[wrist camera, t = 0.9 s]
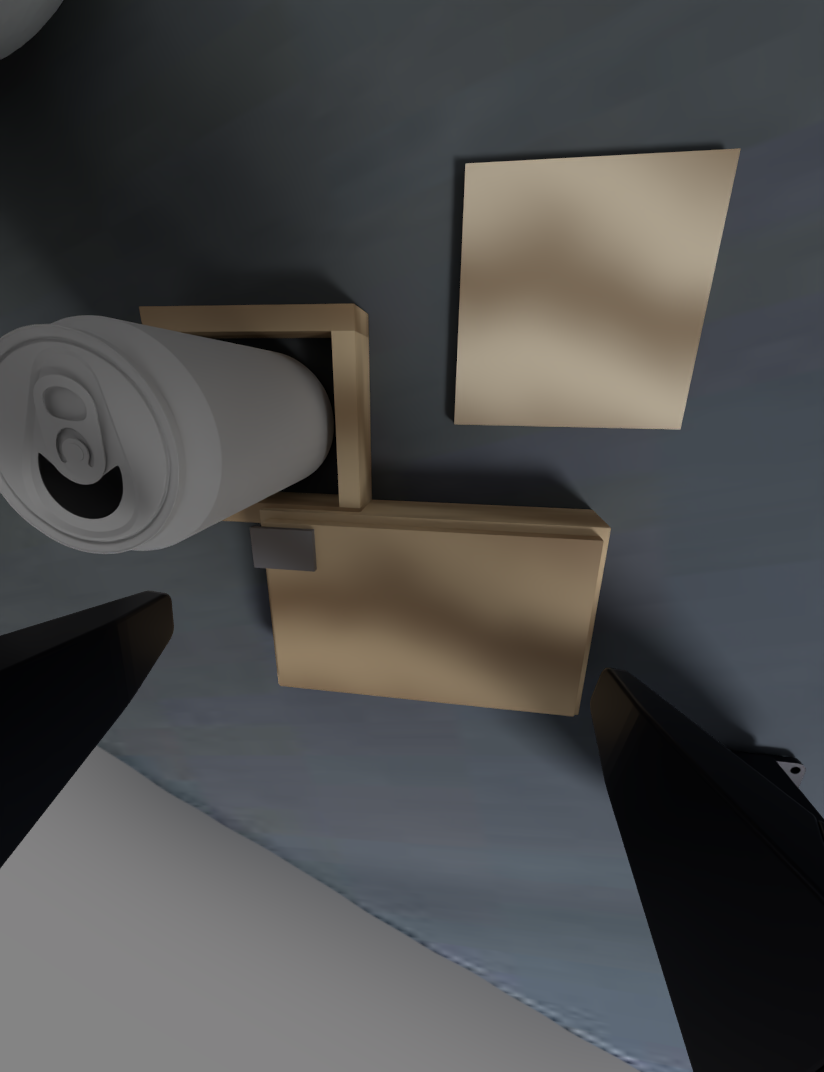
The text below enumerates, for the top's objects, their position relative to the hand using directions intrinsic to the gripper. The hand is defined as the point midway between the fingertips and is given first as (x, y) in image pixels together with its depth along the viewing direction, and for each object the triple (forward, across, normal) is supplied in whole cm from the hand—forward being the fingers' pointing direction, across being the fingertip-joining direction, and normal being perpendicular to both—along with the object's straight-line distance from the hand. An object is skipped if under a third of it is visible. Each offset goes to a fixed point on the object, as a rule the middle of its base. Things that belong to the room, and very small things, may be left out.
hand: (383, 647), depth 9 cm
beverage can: (+15, +8, -2) cm, 17 cm away
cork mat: (+14, -6, -8) cm, 17 cm away
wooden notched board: (+14, +1, +2) cm, 14 cm away
